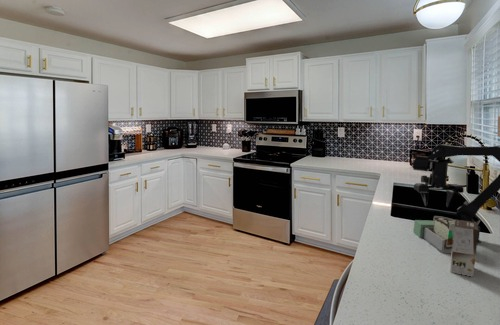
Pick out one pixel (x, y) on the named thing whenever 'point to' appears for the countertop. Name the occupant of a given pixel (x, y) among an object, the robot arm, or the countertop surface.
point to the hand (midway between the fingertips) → (436, 206)
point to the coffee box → (464, 247)
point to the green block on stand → (430, 235)
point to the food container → (444, 229)
